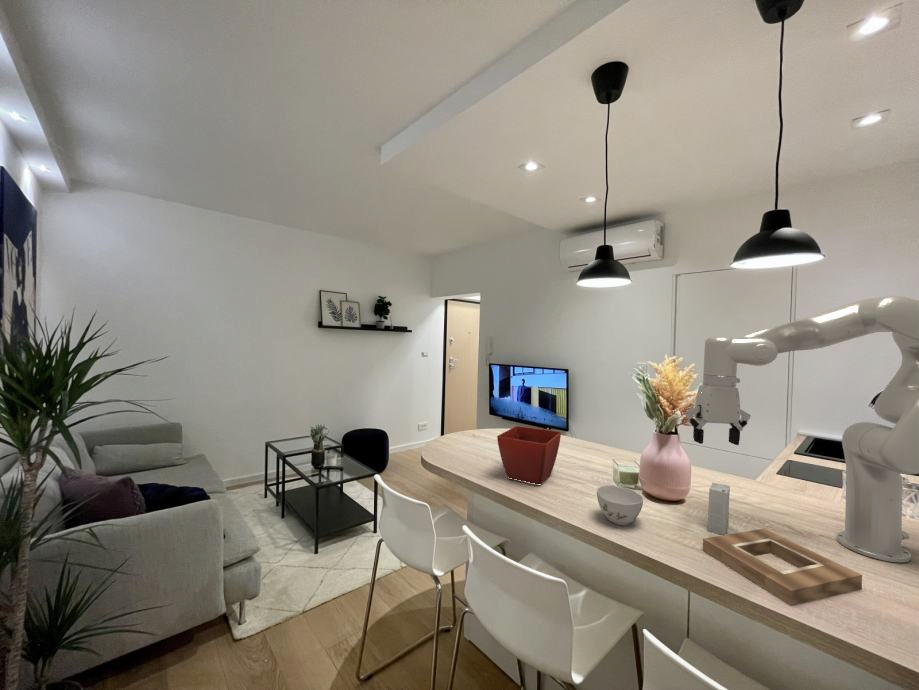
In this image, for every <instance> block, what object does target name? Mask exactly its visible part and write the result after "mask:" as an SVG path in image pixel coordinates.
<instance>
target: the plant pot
mask: <svg viewBox="0 0 919 690" xmlns="http://www.w3.org/2000/svg"><path fill="white" fill-rule="evenodd" d="M561 437H562V433H561V431H557V430H549V429H543V428H534V427H527V426H518V425H516V426H514V427H511V428H509V429H508V430H506V431H504V432H502V433H500V434H499V435H497V436H496V439H497V445H498V451H499V453H500V458H501V459H500V460H501V461H502V465H503V468H504V470H505V474H506V477H507V478H508V477H509V478H512V479H517V480H521V481H526V482H530V483H535V484H541V485H543V484H544V483H545V481H546V480H548V479H549V478H550V476H551V475H552V472H553V469H554V467H555V463H556V460H557V457H558V456H557V455H558V453H559V448H560V442H561Z"/></svg>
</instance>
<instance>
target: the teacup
mask: <svg viewBox="0 0 919 690" xmlns="http://www.w3.org/2000/svg"><path fill="white" fill-rule="evenodd" d="M596 497H597V503H598V505H599V508H600V509H601V512H602V513H603V515H604V516H605V517H606V518H607V520H608V521H610V522H611V523H612V522H613V523H612V524H616V525H618V526H628V525H630V523H631V522H633V521H634V520H635V519H637V518H638V516H639V515H640V513H641V511H642V509H643V504H644V497H643V496H642V494H640V493H638V492H636V491H635V490H633V489H631V488H628V487H622V486H617V485H611V484H610V485H603V486H599V487H597V489H596Z"/></svg>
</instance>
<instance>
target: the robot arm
mask: <svg viewBox="0 0 919 690" xmlns="http://www.w3.org/2000/svg"><path fill="white" fill-rule="evenodd" d="M876 333H891V336H892V338H893V341H894V342H895V343H894V344H896V345H897V347H898V349H899V350H900V353H901V359H902V360H901V363H900V364H901V365H900V367H899V368H898V370H897V371H896V373H895V375H894V376H893V377H892V378H891V380H890V381H889V382H888V384H887V385H886V386H885V388H884V389H883V390H882V392H880V394H879V396H878V397H877V398H876V399H875V403H874V405H873V408H874V412H875V413H876V415H877V416H878V418H881V419H882V420H884V421H886V422H889V423H892V424H894V426H893V427H890V426H887V425H883V424H879V423H875V422H870V421H869V422H867V421H866V422H865V421H861V422H857V423H853V424H851V425H849V426H848V427H847V428H846V429H844V432H843V434H842V438H841V445H842V446H841V447H842V449H843V455H844V461H845V512H844V513H845V521H844V526H845V527H844V528H845V529H844V531H840V532H837V533H836V540H837V541H838V543H839V544H841V545H842V546H843V547H845V548H847V549H849V550H851V551H853V552H855V553H858V554H861V555H862V556H866V557H869V558H873V559H876V560H880V561H885V562H888V563H889V562H890V563H907V562H910V561H911V560H912V554H911V552H910V551H909V550H908V549H906V548H905V547H903V546H902V541H904V540H907V539H909V538H910V535H909V534H908V532H906V531H904V530H902V529H903V528H902V525H903V523H902V522H903V521H902V520H903V479H902V474H903V475H917V474H919V299H915V298H911V297H906V296H901V295H888V296H879V297H873V298H866V299H862V300H858V301H855V302H851V303H847V304H845V305H842V306H839V307H835V308H833V309H832V308H831V309H830V310H827V311H824V312H820V313H817V314H813V315H810V316H807V317H803V318H800V319H797V320H794V321H793V320H792V321H790V322H787V323H784V324H780V325H777V326H773V327H769V328H766V329H763V330H759V331H756V332H753V333H750V334H747V335H743V336H741V337H738V338H734V337H723V336H722V337H720V336H717V337H716V336H713V337H712V336H711V337H710V336H709V337H707V338H706V339H705V341H704V357H703V373H702V374H703V375H702V380H703V381H702V384H700V385H698V390H697V393H696V396H695V403H694V407H693V408H690V409H687V410H686V411H684V415H685V417H686V419H687V422H688V423H689V424H690V425H691V427H692V428H693V434H692V435H693V436H692V437H693V442H695V443H698V444H703V443H704V433H705V432H704V431H705V430H704V429H703V427H704V426H706V425H707V424H728V425H729V426H730V427H729V430H728V442H729V443H730V444H733V445H735V446H739V445H740V441H741V439H740V438H741V432H742V431H743V429H744V427H746V426H747V425H748V422H749V420H750V419H751V416H752V415H751V414H750V413H748V412H746V411H744V410H743V409H741V399H740V392H739V389H738V388H739V387H736V386H737V384H739V383H740V382H741V380H740V378H739V377H737V373H738V372H737V371H738V368H737V367H738V364H743V365H748V366H749V365H750V366H754V367H755V366H756V367H761V366H766V365H769V364H772V363H773V362H774V361H775V360H776V359H777V357H778V355H779V354H782V353H787V352H795V351H796V352H797V351H809V350H816V349H817V350H818V349H823V348H827V347H830V346H833V345H836V344H840V343H842V342H846V341H849V340H852V339H856V338H857V339H858V338H861V337H864V336H867V335H871V334H876ZM701 392H702V393H701ZM740 417H741V418H740Z"/></svg>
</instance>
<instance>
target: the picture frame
mask: <svg viewBox="0 0 919 690" xmlns="http://www.w3.org/2000/svg"><path fill="white" fill-rule="evenodd" d="M702 551H703V552H705V554H708V555H710V556H711V557H713V558H714V559H716V560H717V561H719V562H721V563H722V564H724V565H725V566H727V567H728V568H730V569H731V570H734V571H735V572H736V573H739V575H742V576H743V577H745V579H746V578H747V580H749V581H751V582H752V583H755V584H756V585H758V586H759V587H761V588H762V589H764V590H765V591H766V592H769V593H770V594H771V595H774V596H775V597H776V598H778V599H779V600H781V601H783V602H785V603H786V604H788V605H789V606H794V605H795V606H796V605H799V604H804V603H808V602H812V601H815V600H821V599H824V598H829V597H833V596H838V595H842V594H846V593H849V592H854V591H858V590H862V589H863V588H862V587H863V575H862V574H861V573H858V572H857V571H855V570H852V569H850V568H848V567H847V566H844V565H842V564H841V563H838V562H837V561H834V560H831V559H829V558H828V557H825V556H823V555H821V554H819V553H817V552H815V551H813V550H810V549H808V548H806V547H804V546H802V545H800V544H798V543H796V542H794V541H792V540H789V539H788V538H785V537H783V536H781V535H779V534H776V533H775V532H773V531H771V530H768V529H766V528H760V529H759V528H758V529H753V530H746V531H740V532H735V533H730V534H729V533H727V534H726V535H717V536H709V537H706V538H705V537H703V538H702ZM765 554H772V555H774V556H776V557H777V558H779V559H781V560H783V561H785V562H787V563H789V564H790V565H792V566H795V567H796V568H792V569H787V570H781V569H780V568H777V567H775V566H773V565H772V564H770V563H768V562H766V561H764V560H763V559H761V558H759V557H758V556H760V555H761V556H762V555H765Z"/></svg>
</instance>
